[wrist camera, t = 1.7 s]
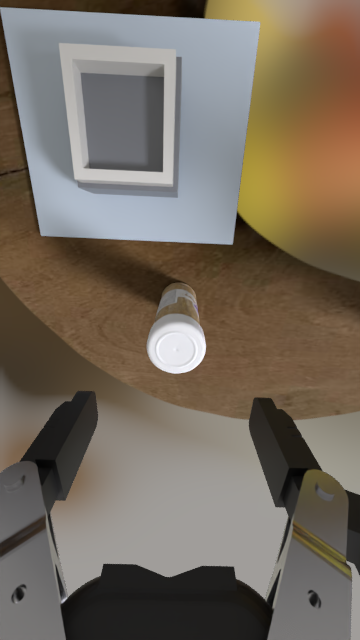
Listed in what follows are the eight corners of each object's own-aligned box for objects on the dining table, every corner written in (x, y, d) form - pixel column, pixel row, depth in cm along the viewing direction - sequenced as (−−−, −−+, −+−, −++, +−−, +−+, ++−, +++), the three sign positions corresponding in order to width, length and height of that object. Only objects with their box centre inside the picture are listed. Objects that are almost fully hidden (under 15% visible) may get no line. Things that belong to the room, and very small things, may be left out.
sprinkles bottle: (202, 303, 29) (217, 359, 17) (173, 320, 30) (167, 385, 18) (183, 274, 28) (186, 311, 16) (153, 293, 29) (133, 341, 17)
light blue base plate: (257, 29, 20) (289, -54, 14) (231, 244, 27) (245, 248, 21) (6, 15, 20) (-68, -75, 14) (44, 235, 26) (6, 237, 21)
